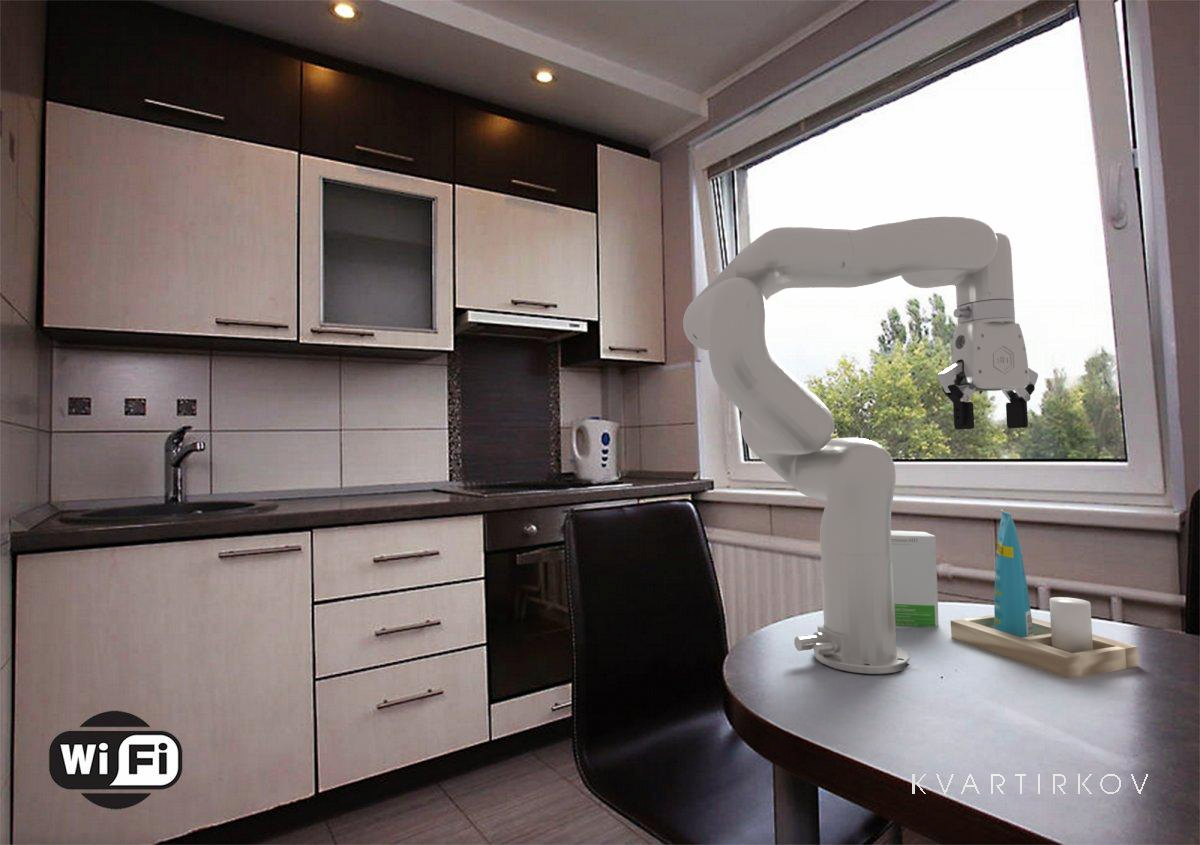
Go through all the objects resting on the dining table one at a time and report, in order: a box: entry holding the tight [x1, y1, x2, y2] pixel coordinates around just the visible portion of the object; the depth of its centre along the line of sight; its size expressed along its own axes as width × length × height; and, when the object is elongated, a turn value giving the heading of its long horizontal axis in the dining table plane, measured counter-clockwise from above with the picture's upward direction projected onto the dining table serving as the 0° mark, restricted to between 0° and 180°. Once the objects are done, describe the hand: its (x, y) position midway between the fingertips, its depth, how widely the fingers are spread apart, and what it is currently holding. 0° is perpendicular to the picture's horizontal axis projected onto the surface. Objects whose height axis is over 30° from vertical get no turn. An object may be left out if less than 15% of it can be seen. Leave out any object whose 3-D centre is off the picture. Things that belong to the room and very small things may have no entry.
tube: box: [993, 508, 1034, 638], centre depth 92 cm, size 7×5×19 cm, turn 161°
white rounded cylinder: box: [1048, 596, 1093, 653], centre depth 84 cm, size 4×4×8 cm
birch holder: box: [950, 614, 1140, 679], centre depth 89 cm, size 12×18×4 cm, turn 16°
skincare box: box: [891, 530, 940, 631], centre depth 106 cm, size 8×7×16 cm
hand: (991, 428), depth 96 cm, fingers open, 9 cm apart
